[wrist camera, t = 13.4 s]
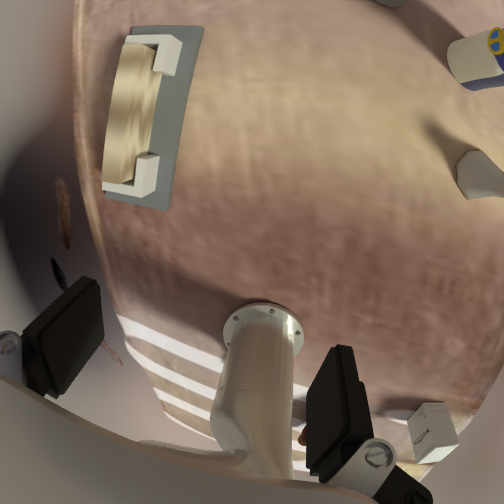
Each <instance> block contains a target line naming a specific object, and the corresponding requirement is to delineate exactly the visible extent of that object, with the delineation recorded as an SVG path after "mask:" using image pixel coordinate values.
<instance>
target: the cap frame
mask: <svg viewBox="0 0 504 504" xmlns="http://www.w3.org/2000/svg"><path fill="white" fill-rule="evenodd" d="M203 32H204V28H203V27H199V26H141V27H133V30H132V33H131V35H129V36H127V37H126V40H125V44H124V45H127V44H143V45H145V46H147V47H149V48H151V49H153V50H155V51H157V54H156V58H155V62H154V66H153V71H154V72H157V73H160V74H162V77H161V82H160V87H159V91H158V96H157V101H156V107H155V112H154V118H153V123H152V129H151V135H150V142H149V149H148V156H144V157H140V158H137V164H136V173H135V178H133V179H131V180H128V181H126V182H123V183H121V184H113V183H107V182H103V183H102V190H106V195H105V198H108V199H113V200H118V201H122V202H127V203H131V204H136V205H140V206H145V207H149V208H154V209H158V210H162V211H168V210H169V208H170V200H171V193H172V185H173V178H174V171H175V165H176V158H177V152H178V146H179V141H180V135H181V129H182V124H183V119H184V114H185V108H186V104H187V99H188V94H189V89H190V85H191V80H192V76H193V72H194V67H195V63H196V59H197V55H198V51H199V47H200V43H201V40H202V36H203Z"/></svg>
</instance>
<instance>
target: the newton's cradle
mask: <svg viewBox="0 0 504 504" xmlns="http://www.w3.org/2000/svg"><path fill="white" fill-rule="evenodd" d="M374 1H376V2H378V3H380V4H383V5H385V6H389V7H400V6H402V5H403V4H404V3H405V2H406V1H407V0H374Z"/></svg>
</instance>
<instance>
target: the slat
mask: <svg viewBox="0 0 504 504" xmlns="http://www.w3.org/2000/svg"><path fill="white" fill-rule="evenodd" d="M156 54H157V51H155V50H153V49H151V48H149V47H147V46H145V45H143V44H127V45H123V47H122V51H121V55H120V59H119V63H118V68H117V72H116V77H115V82H114V87H113V92H112V98H111V103H110V109H109V116H108V122H107V130H106V137H105V146H104V155H103V166H102V179H101V181H102V182H107V183H113V184H121V183H123V182H126V181H128V180H131V179H133V178H135V173H136V164H137V158H140V157H144V156H148V149H149V142H150V135H151V129H152V123H153V118H154V112H155V107H156V101H157V96H158V91H159V87H160V82H161V77H162V74H160V73H157V72H154V71H153V66H154V62H155V58H156Z"/></svg>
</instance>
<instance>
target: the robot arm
mask: <svg viewBox="0 0 504 504" xmlns="http://www.w3.org/2000/svg"><path fill="white" fill-rule="evenodd" d="M22 332H23V334H22V335H21V336H19V334H18V333H16V332H14V331H7V330H6V331H2V332H0V504H433V499H432V495H431V493H430V491H429V490H428V489H427V488H425V487H424V486H423V485H422V484H420V483H419V482H418V481H416V480H415V479H414V478H412V477H411V476H410V475H408V474H407V473H406V472H405V471H403V470H402V469H401V468H399V467H398V466H397V465H396V461H397V454H396V451H395V449H394V447H393V446H392V445H391V444H390V443H389V442H387V441H385V440H383V439H379V438H374V433H373V427H372V422H371V416H370V411H369V405H368V400H367V395H366V390H365V386H364V383H363V382H362V381H359V377H358V372H357V367H356V362H355V358H354V353H353V349H352V347H351V346H345V345H340V344H337V345H336V346H335V347H331V348H330V350H329V352H328V354H327V356H326V358H325V360H324V362H323V364H322V366H321V367H320V369H319V371H318V373H317V375H316V377H315V379H314V381H313V382H312V384H311V386H310V388H309V390H308V392H307V396H306V468H307V469H310V476H319V482H320V483H316V482H308V481H300V480H295V479H294V471H293V463H292V406H293V370H294V357H295V356H296V355H297V354H298V353H299V352H300V350H301V348H302V346H303V343H304V330H303V327H302V324H301V322H300V321H299V319H298V318H297V317H296V316H295V315H294V314H293V313H292V312H291V311H289V310H288V309H286V308H284V307H282V306H280V305H276V304H272V303H265V302H258V303H251V304H247V305H244V306H242V307H239V308H238V309H236V310H235V311H234V312H233V313H231V314H230V315H229V317H228V319H227V320H226V323H225V325H224V329H223V339H224V342H225V345H226V347H227V348H228V352H227V355H226V359H225V363H224V366H223V370H222V373H221V377H220V381H219V384H218V388H217V391H216V395H215V399H214V402H213V406H212V410H211V414H210V425H211V430H212V432H213V435H214V437H215V439H216V440H217V442H218V444H219V445H220V446H221V448H222V449H223V451H211V450H209V451H208V450H202V449H196V448H191V447H186V446H181V445H176V444H171V443H166V442H161V441H156V440H142V441H138V442H135V441H133V440H130V439H128V438H125V437H123V436H120V435H118V434H116V433H113V432H111V431H109V430H106V429H104V428H102V427H100V426H97V425H95V424H93V423H91V422H89V421H87V420H85V419H83V418H81V417H79V416H77V415H75V414H73V413H71V412H69V411H67V410H66V409H64V408H62V407H60V406H58V405H57V404H55V403H53V402H51V401H49V400H48V399H46V398H44V396H45V394H46V393H47V394H48V395H50V396H51V397H53V398H55V399H57V398H58V397H59V395H60V394H61V395H62V394H64V393H65V392H66V391H67V389H68V388H69V386H70V385H71V383H72V382H73V381H74V379H75V378H76V376H77V375H78V373H79V372H80V371H81V369H82V368H83V367H84V365H85V364H86V363H87V361H88V360H89V359H90V357H91V356H92V355H93V353H94V352H95V351H96V349H97V348H98V346H99V345H100V344H101V343H102V341H103V339H104V326H103V317H102V308H101V296H100V286H99V285H98V284H97V281H96V280H95V279H91V278H89V277H86V276H82V277H81V278H80V279H79V280H77V281H76V282H75V283H74V284H73V285H72V286H71V287H69V288H68V289H67V290H66V291H65V292H64V293H63V294H62V295H60V296H59V298H57V299H56V300H55V301H54V302H53V303H52V304H51V305H49V306H48V307H47V308H46V309H45V310H44V311H43V312H42V313H41V314H40V315H39V316H38V317H37V318H36V319H35V320H34V321H33V322H32V323H30V324H29V325H28V326H27V327H26V328H25V329H24V330H23V331H22Z"/></svg>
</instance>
